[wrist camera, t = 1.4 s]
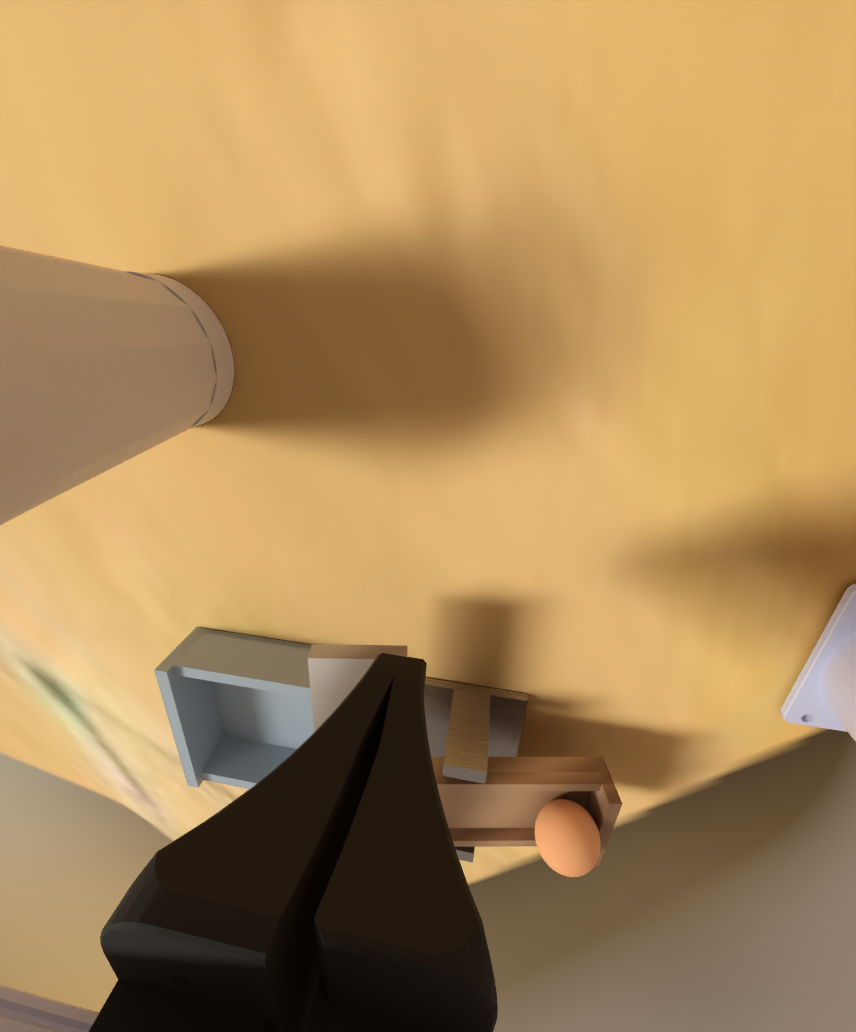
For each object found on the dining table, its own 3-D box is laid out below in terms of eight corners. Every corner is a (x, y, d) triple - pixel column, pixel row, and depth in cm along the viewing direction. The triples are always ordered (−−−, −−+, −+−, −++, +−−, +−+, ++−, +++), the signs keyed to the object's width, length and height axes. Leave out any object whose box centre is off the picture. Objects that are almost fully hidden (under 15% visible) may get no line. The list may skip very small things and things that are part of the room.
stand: (527, 693, 24) (532, 780, 20) (510, 778, 27) (511, 870, 23) (419, 676, 25) (400, 756, 20) (415, 761, 28) (397, 846, 23)
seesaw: (637, 649, 19) (665, 691, 17) (582, 820, 24) (597, 867, 22) (311, 644, 18) (299, 687, 16) (326, 820, 24) (318, 870, 22)
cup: (286, 357, 19) (-16, 419, 8) (195, 476, 22) (-109, 637, 11) (129, 200, 17) (-519, 10, 6) (56, 354, 20) (-455, 403, 9)
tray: (345, 650, 25) (322, 698, 22) (350, 760, 29) (331, 814, 26) (196, 626, 26) (154, 670, 23) (220, 736, 30) (187, 785, 27)
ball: (589, 783, 22) (619, 850, 19) (577, 819, 23) (604, 887, 20) (531, 787, 22) (553, 856, 19) (522, 824, 23) (542, 894, 20)
